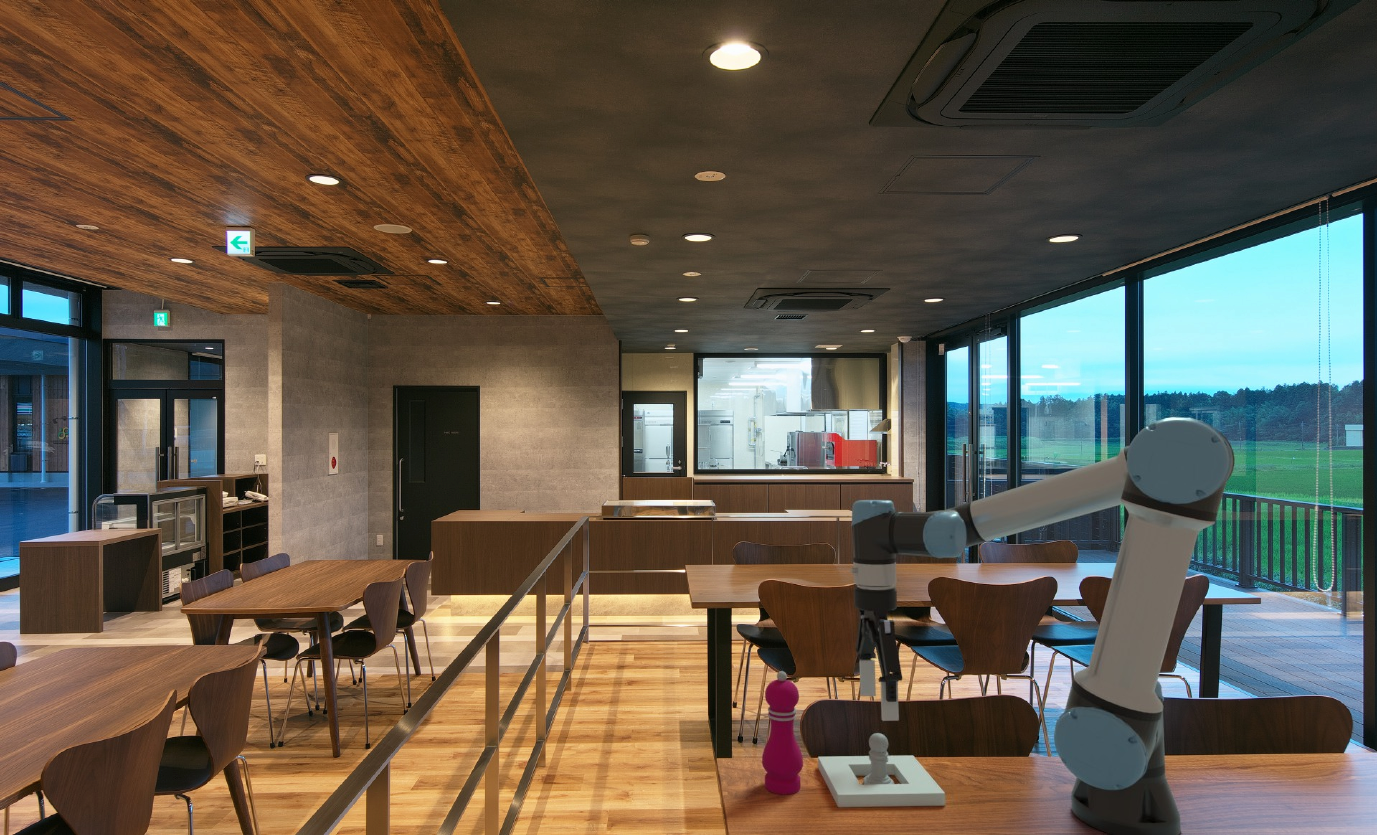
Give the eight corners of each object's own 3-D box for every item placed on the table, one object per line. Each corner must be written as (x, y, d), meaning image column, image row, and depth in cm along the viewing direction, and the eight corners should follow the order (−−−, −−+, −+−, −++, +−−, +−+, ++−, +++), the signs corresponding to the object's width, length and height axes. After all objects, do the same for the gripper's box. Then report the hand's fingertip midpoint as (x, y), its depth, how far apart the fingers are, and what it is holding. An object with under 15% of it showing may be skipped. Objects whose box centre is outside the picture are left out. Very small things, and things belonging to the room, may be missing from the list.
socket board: (913, 766, 140) (912, 755, 140) (945, 805, 124) (945, 793, 124) (818, 767, 139) (818, 756, 139) (838, 807, 123) (838, 794, 123)
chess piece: (900, 787, 131) (899, 734, 131) (880, 794, 128) (879, 741, 128) (877, 776, 135) (876, 726, 136) (856, 783, 132) (856, 732, 133)
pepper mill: (802, 779, 134) (801, 666, 135) (804, 797, 127) (803, 677, 128) (762, 777, 135) (761, 665, 136) (762, 795, 128) (761, 676, 129)
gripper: (838, 576, 146) (840, 687, 144) (873, 598, 121) (877, 732, 120) (875, 576, 146) (879, 686, 145) (919, 597, 121) (923, 731, 120)
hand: (878, 707), depth 132 cm, fingers open, 13 cm apart
